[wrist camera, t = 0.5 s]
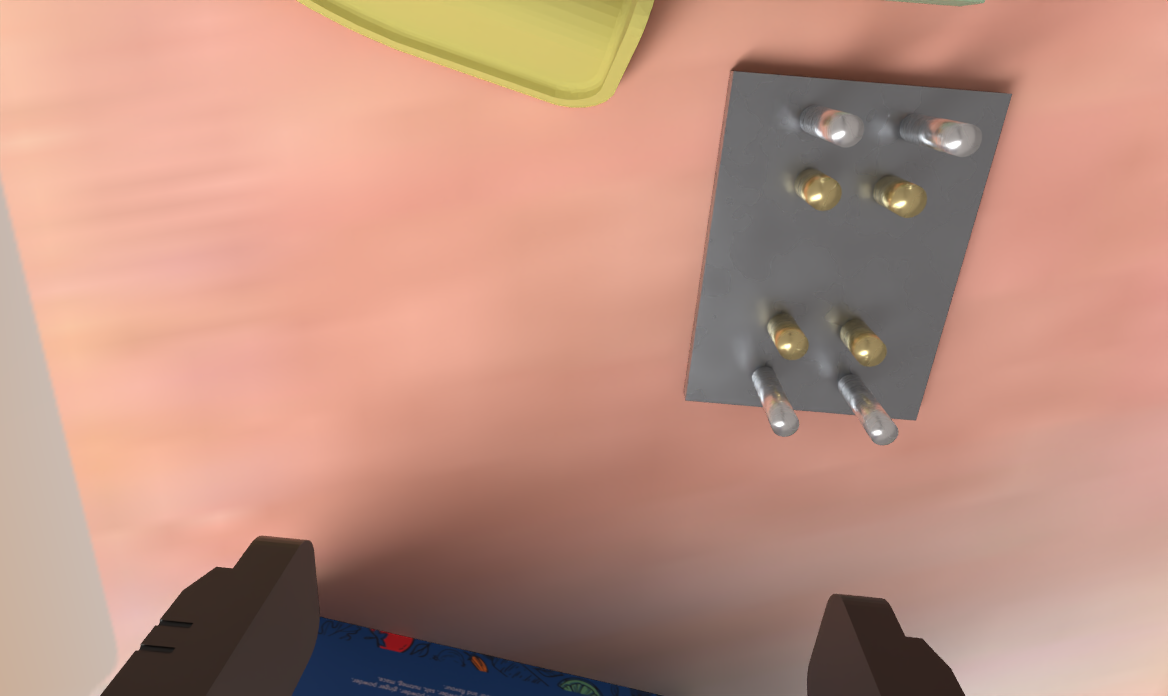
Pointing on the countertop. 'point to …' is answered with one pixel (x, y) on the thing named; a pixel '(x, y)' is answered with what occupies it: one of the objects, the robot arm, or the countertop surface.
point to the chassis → (836, 244)
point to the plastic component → (510, 40)
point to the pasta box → (427, 669)
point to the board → (944, 2)
